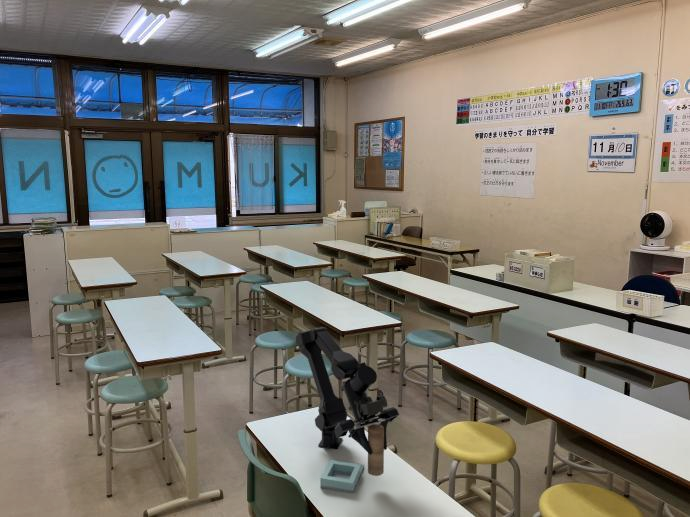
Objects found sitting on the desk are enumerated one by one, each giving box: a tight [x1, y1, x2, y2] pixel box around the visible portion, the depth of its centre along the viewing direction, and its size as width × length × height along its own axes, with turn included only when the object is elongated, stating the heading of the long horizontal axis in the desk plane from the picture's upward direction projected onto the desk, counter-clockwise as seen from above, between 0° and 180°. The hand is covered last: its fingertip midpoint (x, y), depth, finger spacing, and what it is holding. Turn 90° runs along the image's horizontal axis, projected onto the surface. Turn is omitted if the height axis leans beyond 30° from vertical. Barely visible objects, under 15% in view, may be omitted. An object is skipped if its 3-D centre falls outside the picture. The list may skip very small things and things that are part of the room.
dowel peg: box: [367, 423, 385, 477], centre depth 149 cm, size 4×4×13 cm
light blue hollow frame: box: [319, 459, 365, 494], centre depth 155 cm, size 13×9×3 cm
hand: (378, 451), depth 148 cm, fingers closed on dowel peg, 4 cm apart
